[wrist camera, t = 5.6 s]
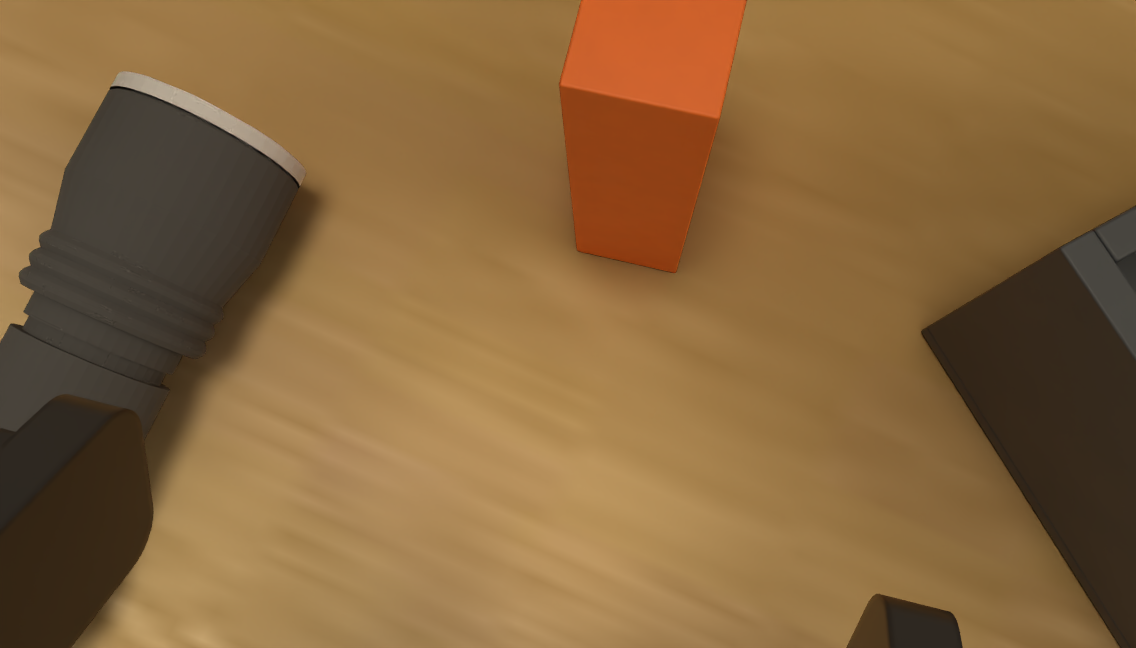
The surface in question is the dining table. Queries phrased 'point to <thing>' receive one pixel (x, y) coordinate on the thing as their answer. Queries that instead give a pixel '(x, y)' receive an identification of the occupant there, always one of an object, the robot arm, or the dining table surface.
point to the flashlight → (142, 250)
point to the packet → (643, 120)
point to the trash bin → (1063, 400)
